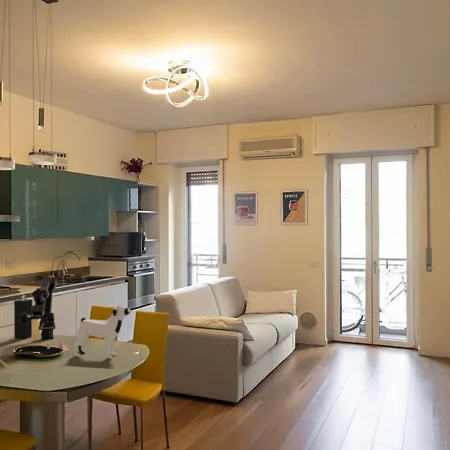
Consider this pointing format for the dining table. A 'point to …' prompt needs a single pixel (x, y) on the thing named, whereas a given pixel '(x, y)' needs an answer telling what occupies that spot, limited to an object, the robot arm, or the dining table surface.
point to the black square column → (20, 328)
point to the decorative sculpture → (101, 330)
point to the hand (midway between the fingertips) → (35, 330)
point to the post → (35, 329)
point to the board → (63, 347)
